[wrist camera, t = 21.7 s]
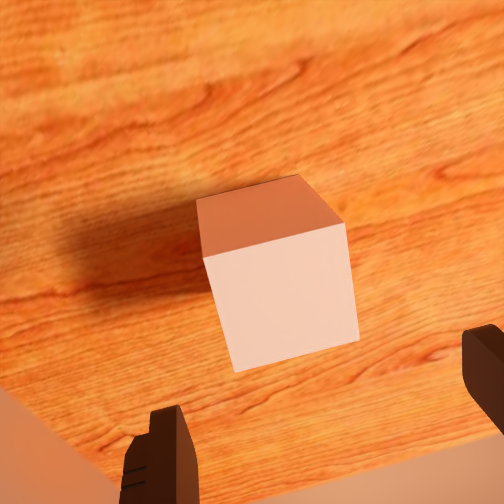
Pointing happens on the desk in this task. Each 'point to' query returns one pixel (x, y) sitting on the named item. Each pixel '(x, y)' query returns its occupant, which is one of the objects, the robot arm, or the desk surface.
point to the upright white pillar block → (277, 271)
